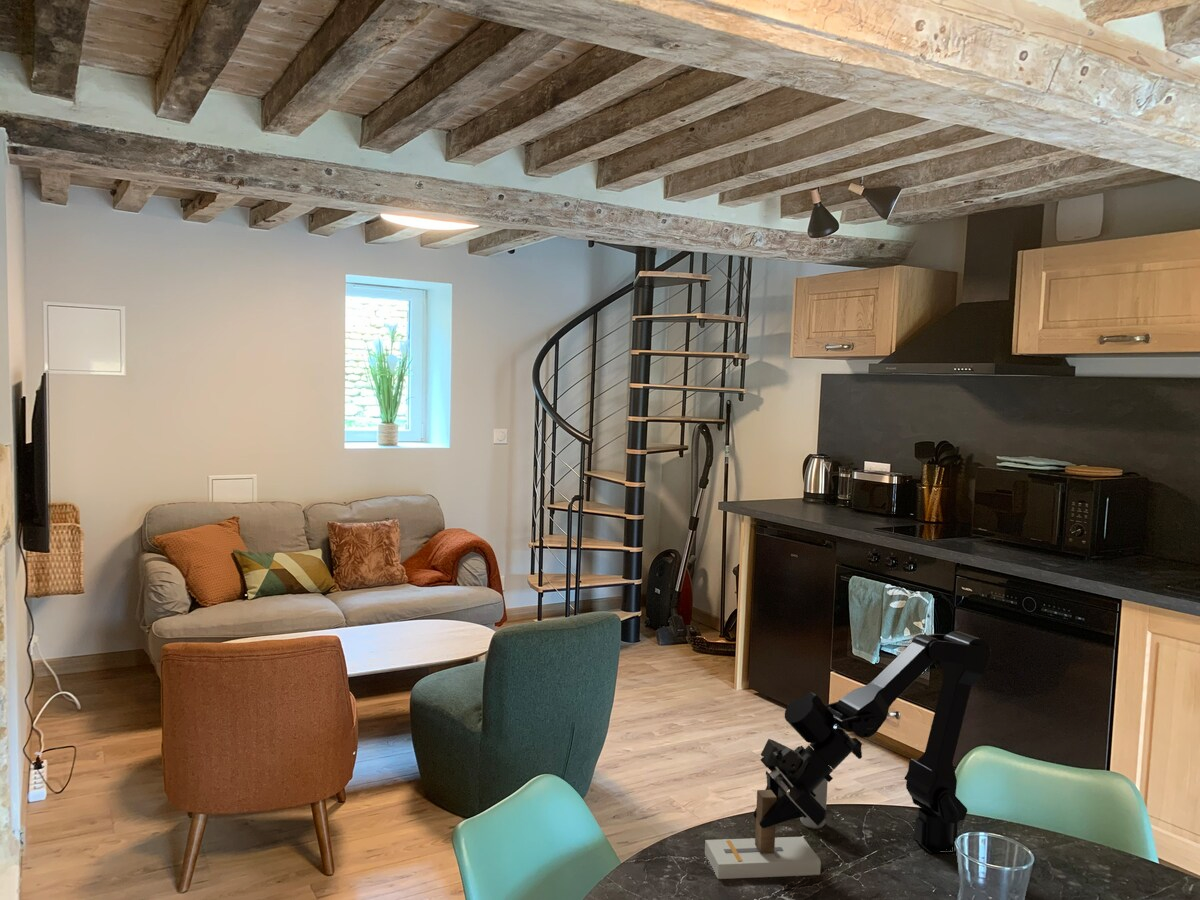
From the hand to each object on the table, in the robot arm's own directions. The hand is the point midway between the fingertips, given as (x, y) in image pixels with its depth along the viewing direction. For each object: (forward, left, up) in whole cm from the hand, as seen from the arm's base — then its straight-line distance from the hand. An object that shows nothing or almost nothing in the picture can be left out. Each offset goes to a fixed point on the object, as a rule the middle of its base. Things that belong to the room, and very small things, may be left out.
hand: (757, 821), depth 156 cm
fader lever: (-1, 0, -5) cm, 5 cm away
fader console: (-1, 0, -8) cm, 8 cm away
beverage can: (-16, -14, -8) cm, 23 cm away
